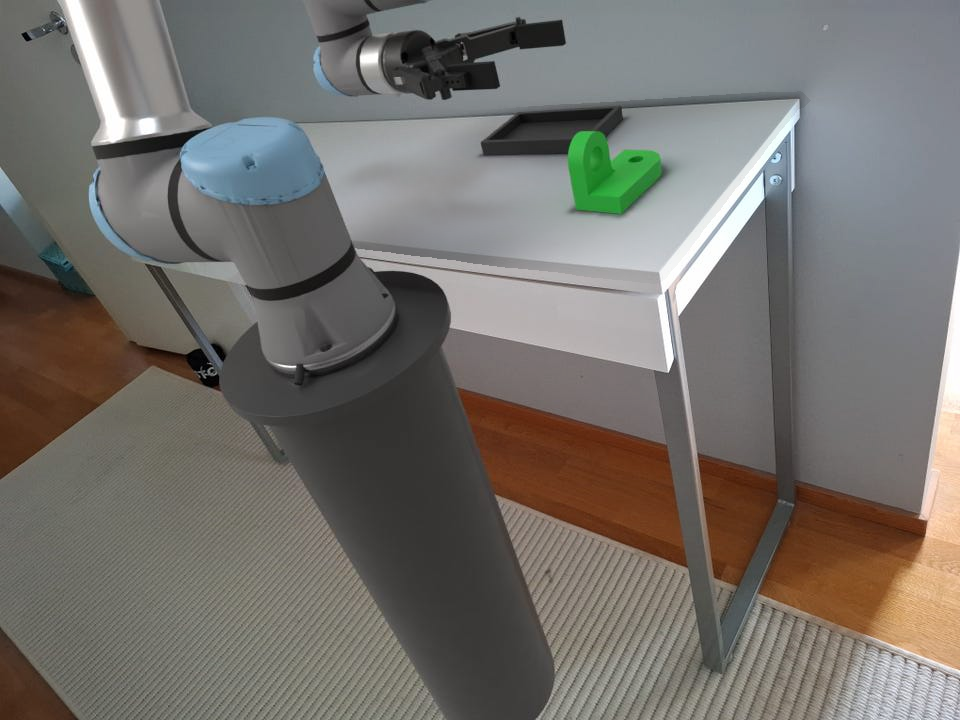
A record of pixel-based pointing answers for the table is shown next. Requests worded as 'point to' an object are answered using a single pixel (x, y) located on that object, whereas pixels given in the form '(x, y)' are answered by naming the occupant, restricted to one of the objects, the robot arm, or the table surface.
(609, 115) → the parts tray
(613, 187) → the mechanical part
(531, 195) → the table surface
